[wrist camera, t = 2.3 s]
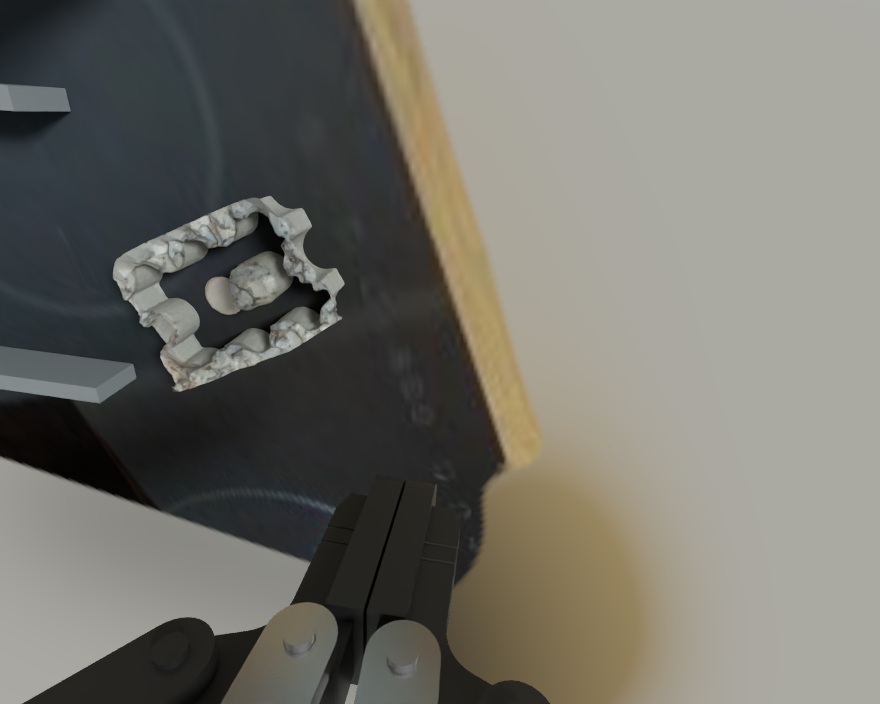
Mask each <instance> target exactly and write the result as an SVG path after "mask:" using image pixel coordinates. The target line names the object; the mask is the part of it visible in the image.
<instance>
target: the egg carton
mask: <svg viewBox="0 0 880 704" xmlns="http://www.w3.org/2000/svg"><path fill="white" fill-rule="evenodd" d="M258 212H260V213H263V214H264V215H265V216H268V218H269V220H270V223H271V225H272V227H273V229H274V232H275V233H276V234H277V235H278V236H280V237H284V238H285V240H284V241H283V243H282V244H281V247H282V249H283V251H284V253H285V255H284V257H282V256H281V255H279V254H277V253H275V252H271V251H265V252H262V253H260V254H258V255H256V256H254V257H252V258H250V259H248V260H246V261H244V262H243V263H241V264H239V265H238V267H237V268H235V269H233V270H231V274H230V278H226V277H214V278H212V279H210V280H209V281H208V282H207V284H206V286H205V296H206V299H207V301H208V302H209V304H210V305H211V306H212V308H214V309H216V310H217V311H219V312H220V313H222V314H227V315H231V314H236V313H237V312H239V311H240V310H251V309H253V308H255V307H257V306H260V305H265V304H268V303H271V302H272V301H273V300H274V299H276V298H277V297H278V296H279V295H280V294H282V293H283V292H284V291H286V290H287V289H288V288H289V287H290V286H291V284H292V282H293V276H297V277H298V278H299V280H300V282H302V283H311V284H312V286H313V289H314V290H315V291H319V290H322V289H325V290H327V291H328V292H329V294H330V297H331V298H330V299H329V300H328V301H327V302H326V303H325V304H324V305H323V307H322V308H321V312H320V315H319V314H318V313H316V312H315V311H314V310H312V309H310V308H307V307H296V308H294V309H293V310H291V311H289V312H288V313H287V314H286V315H284V316H283V317H282V318H281V319H280V320H279V321H278V322H276V323H275V324H273V325H271V326H270V329H271V333H270V334H269V333H267V332H266V331H264V330H261V329H257V328H251V329H247V330H246V331H244V332H243V333H242V334H240V335H239V336H238V337H236V338H235V339H234V340H232V341H231V342H230V343H228V344H227V345H225V347H224V348H222V349H216V348H203V347H202V346H201V345H200V344H199V342H198V341H197V339H196V338H195V336H194V333H195V332H196V330H197V329H198V327H199V316H198V314H197V312H196V310H195V309H194V308H193V307H192V306H191V305H190V304H189V303H188V302H186V301H184V300H182V299H179V298H170V299H168V298H167V297H166V296H165V294H164V292H163V291H162V289H161V287H160V286H159V281H160V280H161V279H162V276H163V273H165V272H169V273H172V272H175V271H179V270H181V269H183V268H185V267H187V266H189V265H191V264H193V263H195V262H197V261H200V260H201V259H202V258H204V256H205V255H206V254H207V252H208V248H214V247H218V246H225V247H227V246H229V245H230V244H231V243H232V242H234V241H236V240H239V239H240V238H243V237H245V236H247V235H249V234H251V233H252V232H253V231H255V229H256V227H257V225H258ZM311 227H312V226H311V222H310V221H309V219H308V217H307V215H306V213H305V211H304V210H303V209H302V208H298V209H288V208H284V207H283V206H281V205H279V204H278V203H277V202H276V201H275V200H274V199H273V198H272V197H271V196H267V197H264V198H261V199H259V198H250V199H246V200H242V201H239V202H236V203H233V204H231V205H229V206H226V207H224V208H222V209H219V210H217V211H215V212H213V213H210V214H208V215H206V216H203V217H201V218H199V219H197V220H196V221H193V222H191V223H188V224H185V225H183V226H181V227H179V228H177V229H175V230H173V231H171V232H168V233H166V234H164V235H162V236H160V237H158V238H155V239H153V240H150V241H148V242H146V243H144V244H142V245H140V246H138V247H136V248H134V249H132V250H130V251H128V252H126V253H125V254H123V255H122V256H120V257H119V258H118V259H117V260H116V262H115V264H114V270H113V279H114V280H115V281H116V283H117V284H118V285H119V287H120V289H121V292H122V295H123V299H124V300H129V301H130V302H131V304H132V305H133V306H134V307H135V309H136V310H137V311H138V313H139V316H140V320H139V322H140V323H141V324H142V326H143V327H150V326H153V327H154V328H155V329H156V331H157V332H158V333H159V335H160V336H161V337H162V339H163V340H164V341H165V342H166V345H165V346H163V348H162V350H161V352H160V357H161V360H162V362H163V364H164V366H165V367H166V369H167V370H168V371H169V373H171V374H172V377H173V380H174V382H175V383H176V385H175V386H174V387H172V390H173V391H175V392H180V391H183V390H186V389H188V388H189V389H191V388H194V387H196V386H198V385H201V384H205V383H208V382H210V381H213V380H216V379H218V378H220V377H223V376H225V375H226V374H228V373H230V372H233V371H235V370H238V369H241V368H245V367H249V366H252V365H255V364H256V363H258V362H260V361H263V360H266V359H269V358H272V357H274V356H277V355H280V354H283V353H286V352H289V351H291V350H292V349H294V348H296V347H297V346H299V345H301V344H302V343H304V342H306V341H307V340H309V339H310V338H312V337H313V336H315V335H316V334H318V333H320V332H321V331H323V330H324V329H326V328H327V327H329V326H331V325H332V324H334V323H336V322H337V321H339V320H340V319H342V317H340V316H338V314H337V313H336V301H335V297H336V294H337V292H338V291H339V290H340V289H341V288H342V287H343V285H344V282H343V280H342V278H341V276H340V275H339V273H338V271H337V269H335V268H332V269H322V268H319V267H317V266H315V265H313V264H312V263H311V262H310V261H309V260H308V259H307V258H306V256H305V254H304V250H303V240H304V237H305V234H306V233H307V231H308V230H309V229H310V228H311Z"/></svg>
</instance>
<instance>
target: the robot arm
mask: <svg viewBox="0 0 880 704" xmlns="http://www.w3.org/2000/svg"><path fill="white" fill-rule="evenodd" d="M436 489H437V485H436V484H431V483H425V482H418V481H411V480H407V482H406V480H404V479H397V478H391V477H384V476H378V475H377V476H376V477H375V479H374V481H373V484H372V487H371V489H370V492H369V494H368V496H365V495H358V494H351V495H350V496H349V497H347V498H346V499H345V500H344V501H343V502H342V503H341V504H340V505H339V506H337V507H336V510H335V512H334V514H333V516H332V518H331V520H330V522H329V525H328V529H326V531H325V533H324V535H323V537H322V540H321V543H320V544H319V546H318V548H317V550H316V552H315V555H314V557H313V559H312V561H311V563H310V565H309V567H308V570H307V572H306V574H305V576H304V578H303V581H302V583H301V585H300V587H299V589H298V591H297V593H296V595H295V597H294V599H293V601H292V603H291V604H290V606H288V607H286V608H284V609H283V610H281V611H280V612H278V613H277V614H276V615H275V616H274V617H273V618H272V619H271V620H270V621H269V622H268V624H267V625H265V626H263V627H260V628H257V629H254V630H250V631H244V632H237V633H230V634H223V635H216V636H214V634H213V631H212V629H211V628H210V626H209V625H208V624H207V623H206V622H204V621H202V620H200V619H196V618H189V617H186V618H178V619H174V620H171V621H168V622H166V623H164V624H162V625H160V626H158V627H156V628H154V629H152V630H151V631H149V632H147V633H145V634H144V635H142V636H140V637H139V638H137V639H135V640H133V641H131V642H130V643H128V644H126V645H125V646H123V647H121V648H119V649H117V650H116V651H114V652H112V653H110V654H109V655H107V656H105V657H103V658H102V659H100V660H98V661H96V662H95V663H93V664H91V665H90V666H88V667H86V668H84V669H82V670H81V671H79V672H77V673H75V674H74V675H72V676H70V677H68V678H67V679H65V680H63V681H62V682H60V683H58V684H56V685H54V686H53V687H51V688H49V689H47V690H46V691H44V692H42V693H40V694H39V695H37V696H35V697H33V698H32V699H30V700H28V701H26V702H24V703H23V704H345V700H346V697H347V694H348V690H349V687H350V684H356V685H358V686H357V691H356V696H355V700H354V704H550V703H549V702H548V700H547V699H546V698H545V697H544V696H543V695H542V694H541V693H540V692H539V691H537V690H536V689H535V688H533V687H532V686H529V685H528V684H525V683H523V682H520V681H513V680H510V681H502V682H498V683H496V684H494V685H491V684H489V683H487V682H486V681H484V680H482V679H481V678H479V677H477V676H475V675H474V674H472V673H471V672H469V671H468V670H466V669H465V668H464V667H463V666H462V665H461V664H460V663H459V662H458V661H457V660H456V659H455V657H454V655H453V654H452V652H451V650H450V647H449V645H448V641H447V627H448V620H449V613H450V606H451V599H452V591H453V584H454V577H455V570H456V561H457V552H458V544H459V535H460V524H459V522H458V519H457V516H456V513H455V510H454V509H448V508H442V507H436V506H435V501H436Z"/></svg>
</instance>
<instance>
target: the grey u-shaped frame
mask: <svg viewBox="0 0 880 704" xmlns="http://www.w3.org/2000/svg"><path fill="white" fill-rule="evenodd" d="M0 110H5V111H71V110H70V106H69V102H68V98H67V94H66V90H65V88H55V87H42V86H28V85H15V84H2V83H0ZM134 379H136V374H135V370H134V366H133V364H130V363H123V362H115V361H108V360H100V359H93V358H85V357H78V356H71V355H63V354H56V353H48V352H41V351H33V350H26V349H18V348H11V347H3V346H0V389H4V390H11V391H18V392H25V393H32V394H39V395H46V396H53V397H60V398H67V399H74V400H80V401H87V402H94V403H101V402H103V401H104V400H105V399H107V398H108V397H110V396H111V395H113V394H114V393H116V392H117V391H118V390H120V389H121V388H123V387H124V386H126V385H127V384H128V383H130V382H131V381H133V380H134Z"/></svg>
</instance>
